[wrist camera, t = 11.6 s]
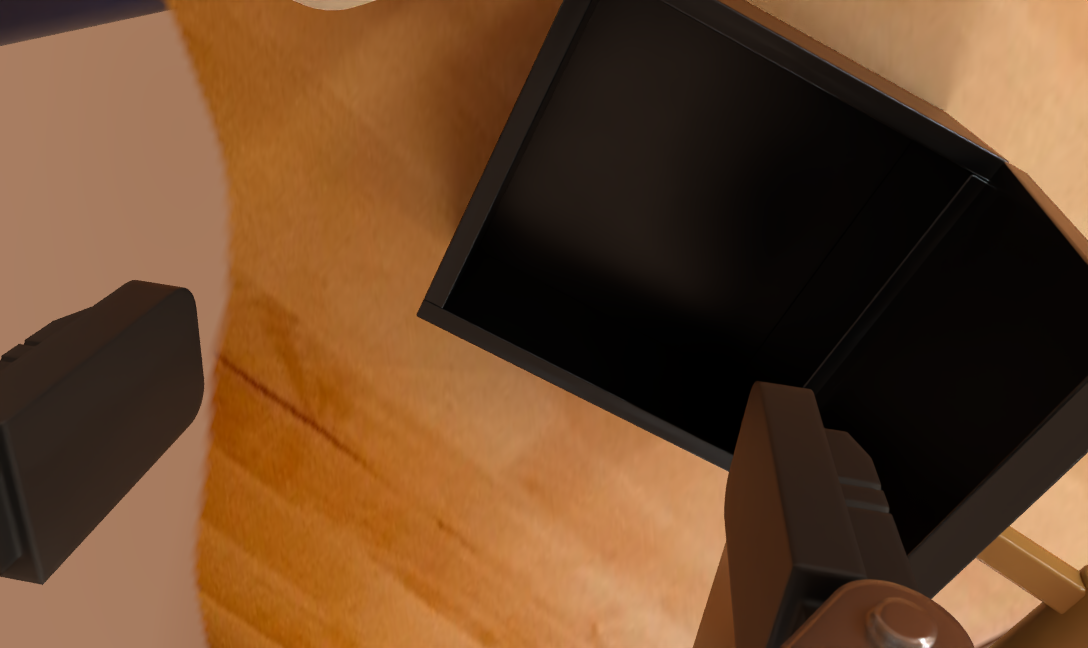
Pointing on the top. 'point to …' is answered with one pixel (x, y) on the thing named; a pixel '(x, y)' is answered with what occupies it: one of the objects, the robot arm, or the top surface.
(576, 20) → the bread bin
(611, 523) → the top surface
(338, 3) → the candle
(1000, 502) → the bin lid
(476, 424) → the top surface
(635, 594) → the top surface
